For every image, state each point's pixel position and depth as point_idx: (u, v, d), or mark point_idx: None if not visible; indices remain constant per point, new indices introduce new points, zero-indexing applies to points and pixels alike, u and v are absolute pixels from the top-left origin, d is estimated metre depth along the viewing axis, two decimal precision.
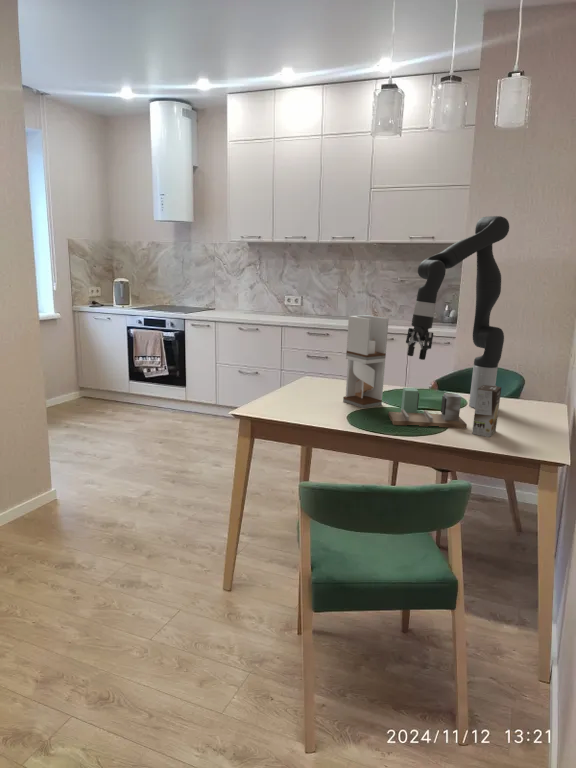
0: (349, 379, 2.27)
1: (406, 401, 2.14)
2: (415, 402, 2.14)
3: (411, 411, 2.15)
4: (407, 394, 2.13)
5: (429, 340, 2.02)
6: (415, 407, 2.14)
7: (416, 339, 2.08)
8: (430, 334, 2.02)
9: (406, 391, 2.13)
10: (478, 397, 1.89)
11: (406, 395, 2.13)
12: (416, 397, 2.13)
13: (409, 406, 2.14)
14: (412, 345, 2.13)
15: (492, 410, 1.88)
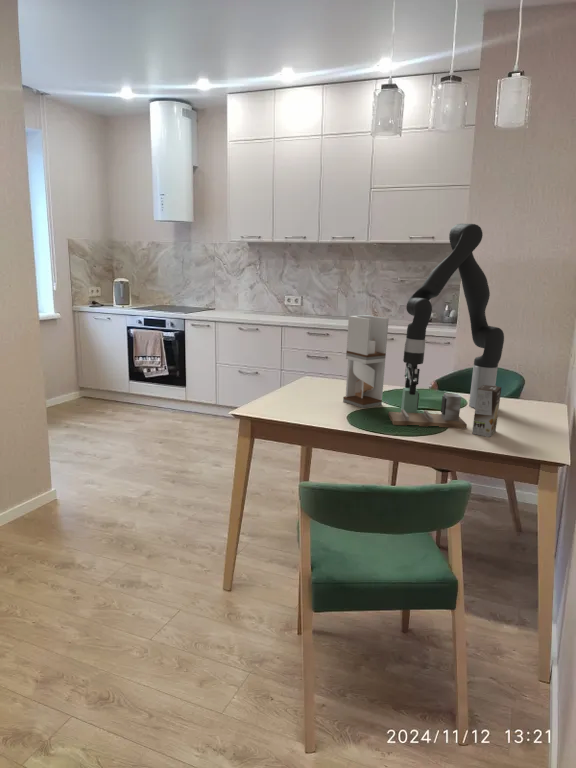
0: (349, 379, 2.27)
1: (406, 401, 2.14)
2: (415, 402, 2.14)
3: (411, 411, 2.15)
4: (407, 394, 2.13)
5: (415, 376, 2.07)
6: (415, 407, 2.14)
7: None
8: (416, 370, 2.07)
9: (406, 391, 2.13)
10: (478, 397, 1.89)
11: (406, 395, 2.13)
12: (416, 397, 2.13)
13: (409, 406, 2.14)
14: (409, 379, 2.18)
15: (492, 410, 1.88)
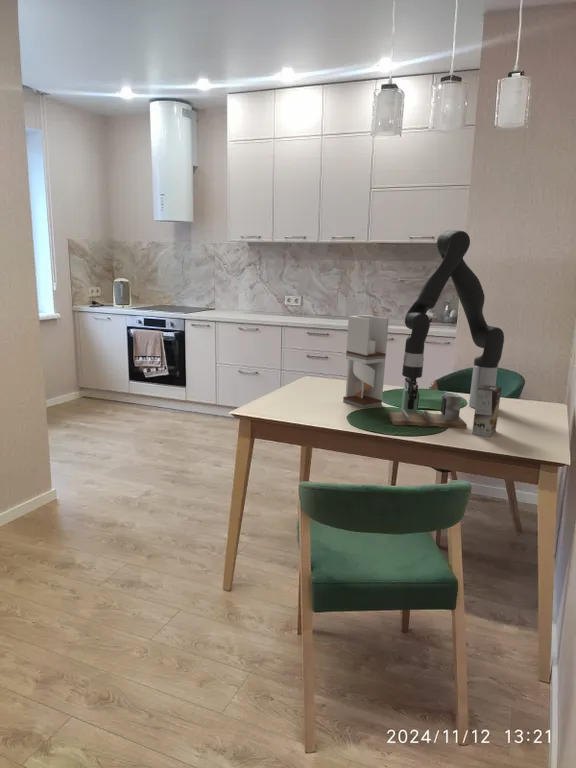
0: (349, 379, 2.27)
1: (406, 401, 2.14)
2: (415, 402, 2.14)
3: (411, 411, 2.15)
4: (407, 394, 2.13)
5: (413, 392, 2.09)
6: (415, 407, 2.14)
7: None
8: (414, 387, 2.08)
9: (406, 391, 2.13)
10: (478, 397, 1.89)
11: (406, 395, 2.13)
12: (416, 397, 2.13)
13: None
14: None
15: (492, 410, 1.88)
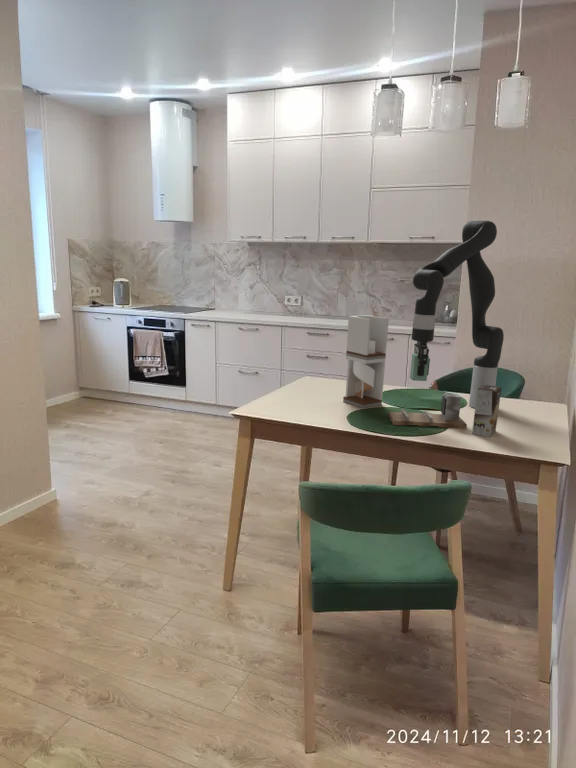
0: (349, 379, 2.27)
1: (415, 367, 1.98)
2: (425, 368, 1.98)
3: (421, 378, 1.99)
4: (417, 359, 1.97)
5: (424, 357, 1.93)
6: (425, 374, 1.98)
7: None
8: (425, 351, 1.93)
9: (416, 356, 1.97)
10: (478, 397, 1.89)
11: (416, 361, 1.98)
12: None
13: None
14: None
15: (492, 410, 1.88)
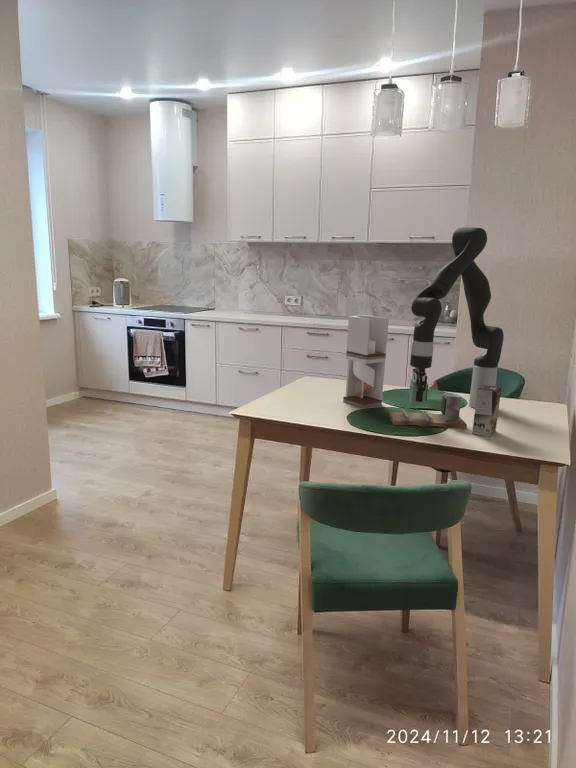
0: (349, 379, 2.27)
1: (414, 393, 2.00)
2: (424, 394, 2.00)
3: (419, 404, 2.01)
4: (415, 385, 1.99)
5: (422, 384, 1.95)
6: (424, 399, 2.00)
7: None
8: (423, 378, 1.94)
9: (414, 382, 1.99)
10: (478, 397, 1.89)
11: (414, 387, 1.99)
12: (425, 389, 1.99)
13: None
14: None
15: (492, 410, 1.88)
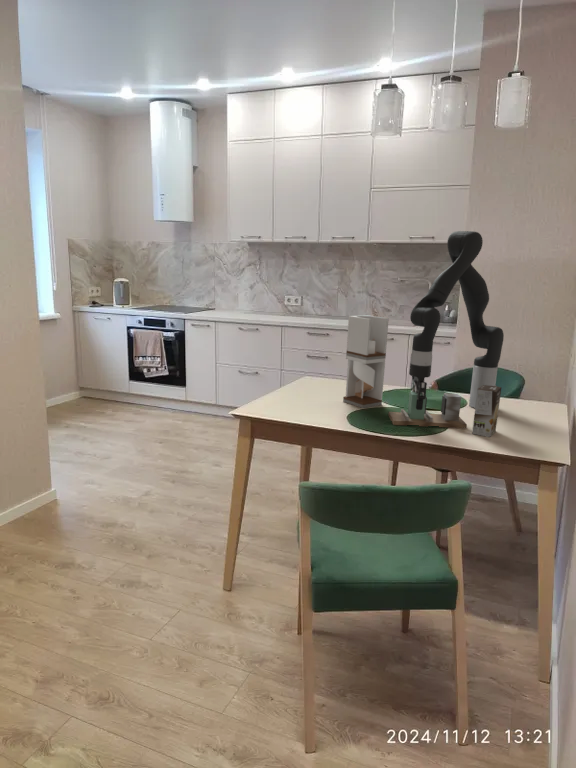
0: (349, 379, 2.27)
1: (413, 406, 2.01)
2: (423, 407, 2.01)
3: (418, 417, 2.02)
4: (414, 398, 2.00)
5: (422, 391, 1.95)
6: (422, 412, 2.01)
7: None
8: (423, 384, 1.95)
9: (413, 395, 2.00)
10: (478, 397, 1.89)
11: (413, 400, 2.00)
12: (424, 402, 2.00)
13: (417, 411, 2.01)
14: None
15: (492, 410, 1.88)
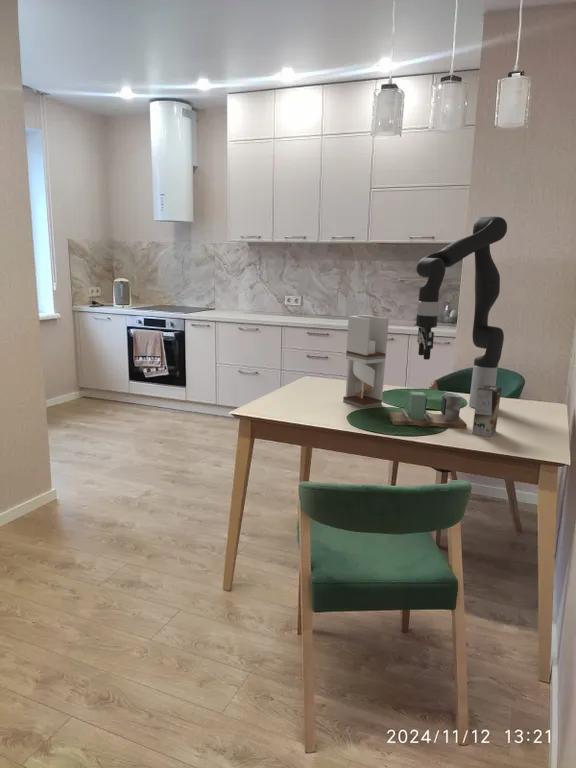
0: (349, 379, 2.27)
1: (413, 406, 2.01)
2: (423, 407, 2.01)
3: (418, 417, 2.02)
4: (414, 398, 2.00)
5: (429, 340, 2.00)
6: (422, 412, 2.01)
7: None
8: (430, 334, 1.99)
9: (413, 395, 2.00)
10: (478, 397, 1.89)
11: (413, 400, 2.00)
12: (424, 402, 2.00)
13: (417, 411, 2.01)
14: (422, 344, 2.11)
15: (492, 410, 1.88)
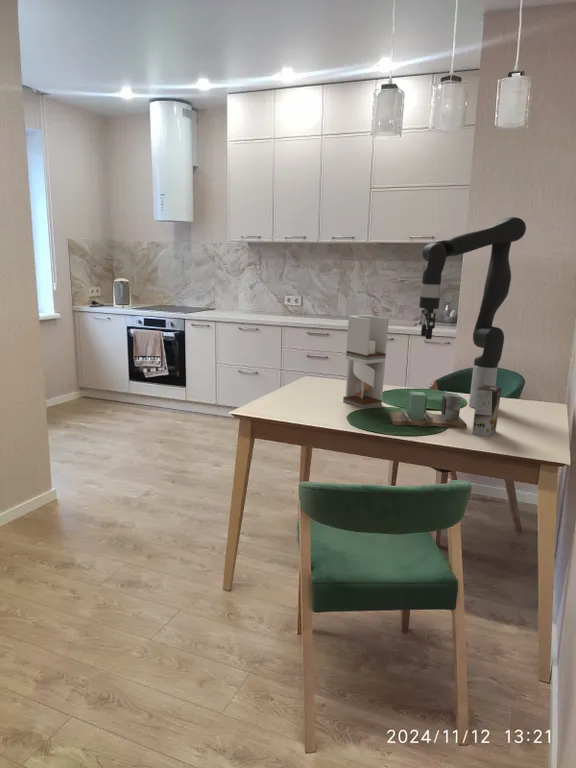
0: (349, 379, 2.27)
1: (413, 406, 2.01)
2: (423, 407, 2.01)
3: (418, 417, 2.02)
4: (414, 398, 2.00)
5: (431, 320, 2.11)
6: (422, 412, 2.01)
7: (424, 320, 2.18)
8: (432, 314, 2.11)
9: (413, 395, 2.00)
10: (478, 397, 1.89)
11: (413, 400, 2.00)
12: (424, 402, 2.00)
13: (417, 411, 2.01)
14: (425, 326, 2.23)
15: (492, 410, 1.88)
